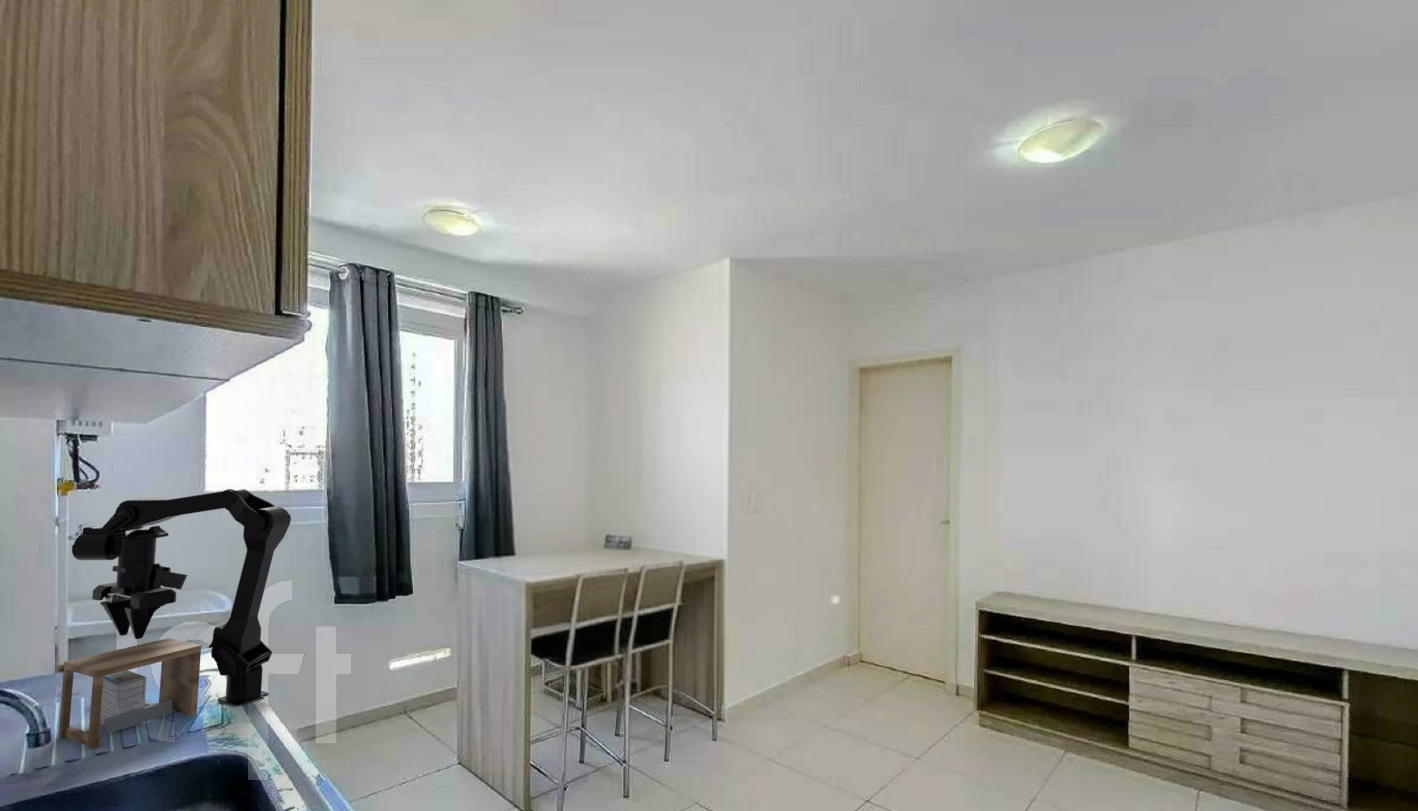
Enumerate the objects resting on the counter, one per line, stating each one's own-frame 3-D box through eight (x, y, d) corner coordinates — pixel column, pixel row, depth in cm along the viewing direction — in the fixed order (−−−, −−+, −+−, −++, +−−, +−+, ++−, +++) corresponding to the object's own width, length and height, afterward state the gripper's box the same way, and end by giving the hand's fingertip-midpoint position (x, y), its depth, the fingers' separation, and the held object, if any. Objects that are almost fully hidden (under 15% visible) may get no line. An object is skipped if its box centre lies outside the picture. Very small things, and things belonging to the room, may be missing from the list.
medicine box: (144, 723, 119) (147, 676, 120) (113, 732, 115) (117, 683, 116) (125, 714, 123) (128, 669, 123) (95, 723, 119) (98, 676, 119)
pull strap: (177, 712, 123) (179, 680, 124) (105, 735, 113) (108, 700, 114) (113, 692, 132) (116, 663, 133) (42, 712, 122) (45, 680, 123)
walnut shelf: (196, 714, 123) (201, 645, 124) (90, 749, 109) (96, 671, 109) (164, 704, 128) (169, 638, 128) (58, 737, 113) (64, 661, 114)
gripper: (207, 557, 134) (202, 632, 133) (157, 551, 142) (152, 621, 141) (143, 566, 124) (137, 647, 123) (93, 558, 132) (87, 635, 131)
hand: (131, 636), depth 130 cm, fingers open, 5 cm apart
